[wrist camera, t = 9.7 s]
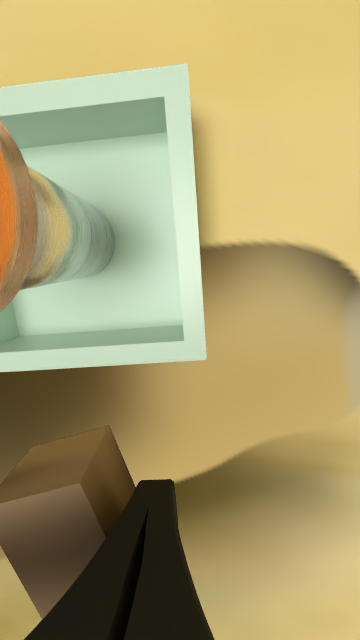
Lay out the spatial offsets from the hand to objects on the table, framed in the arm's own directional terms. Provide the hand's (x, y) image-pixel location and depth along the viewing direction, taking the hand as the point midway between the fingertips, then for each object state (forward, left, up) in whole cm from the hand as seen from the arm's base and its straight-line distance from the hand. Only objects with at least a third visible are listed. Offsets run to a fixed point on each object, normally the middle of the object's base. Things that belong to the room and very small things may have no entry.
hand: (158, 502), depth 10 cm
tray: (+10, +1, -1) cm, 10 cm away
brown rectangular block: (0, +3, -1) cm, 3 cm away
